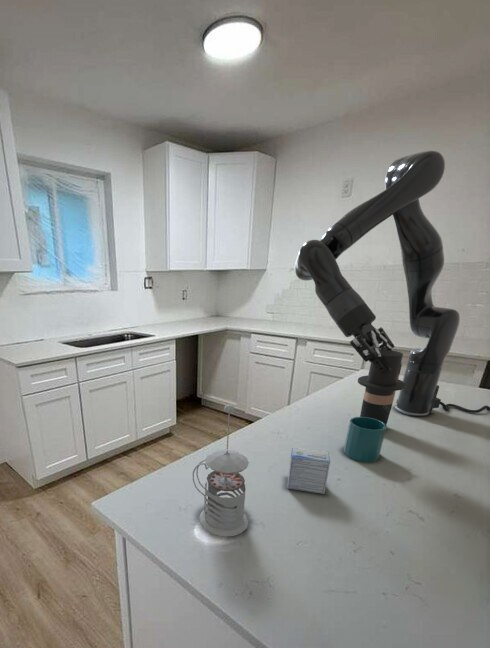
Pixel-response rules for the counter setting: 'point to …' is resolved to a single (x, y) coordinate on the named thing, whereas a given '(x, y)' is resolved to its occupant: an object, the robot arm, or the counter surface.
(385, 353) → the dark grey top hat
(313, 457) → the medicine box
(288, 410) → the counter surface
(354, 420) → the cup
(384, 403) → the travel mug
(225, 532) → the french press
